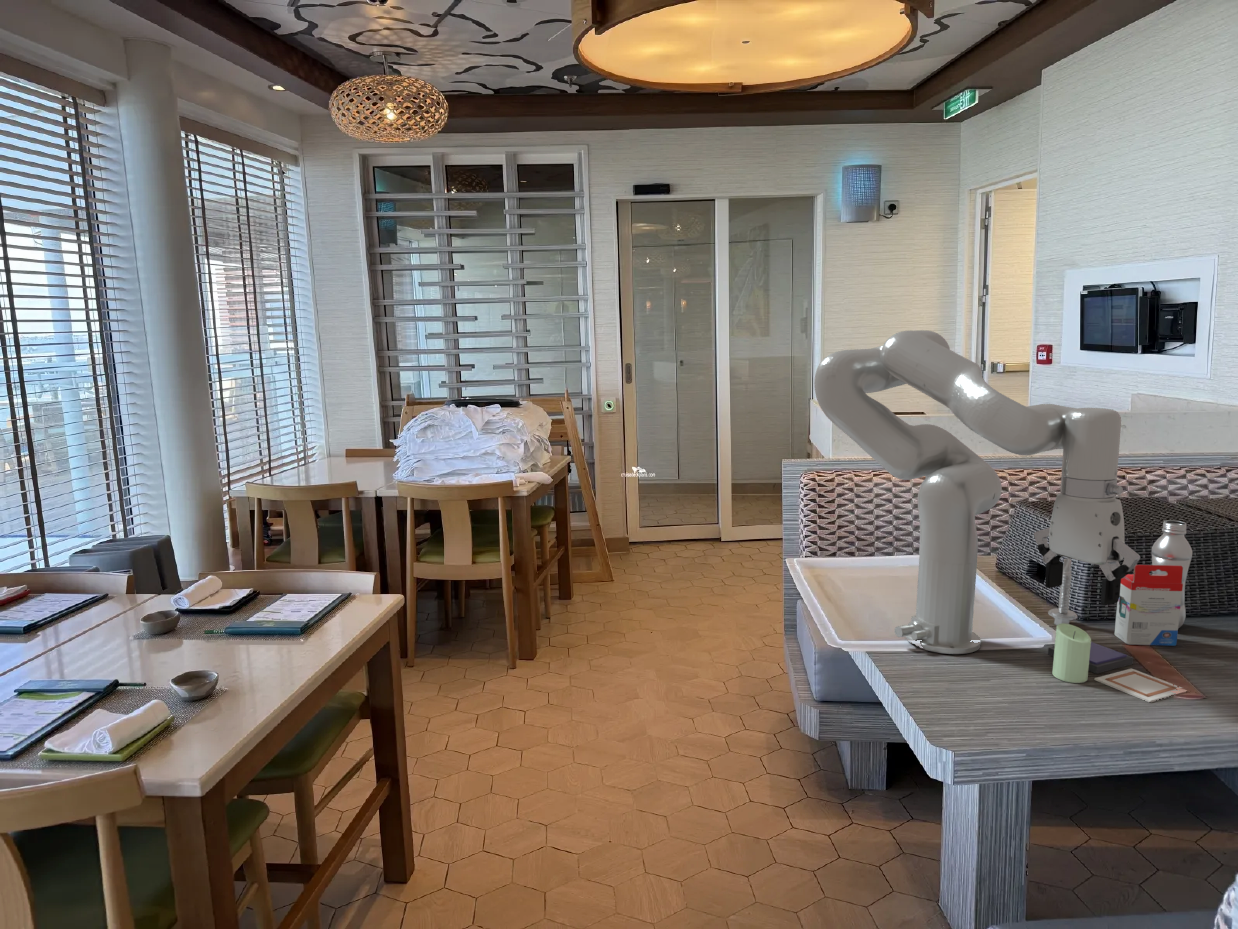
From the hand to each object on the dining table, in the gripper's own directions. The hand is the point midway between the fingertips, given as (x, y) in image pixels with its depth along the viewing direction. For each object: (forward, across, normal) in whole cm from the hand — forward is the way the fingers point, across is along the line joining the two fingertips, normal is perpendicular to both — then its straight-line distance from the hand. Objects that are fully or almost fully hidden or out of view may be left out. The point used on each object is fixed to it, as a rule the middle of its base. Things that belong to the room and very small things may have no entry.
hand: (1080, 594), depth 134 cm
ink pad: (+14, +4, -9) cm, 17 cm away
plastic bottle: (+14, +9, -36) cm, 39 cm away
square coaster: (+14, -6, -7) cm, 17 cm away
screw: (+14, +18, -20) cm, 30 cm away
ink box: (+14, +6, -26) cm, 30 cm away
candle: (+14, +1, 0) cm, 14 cm away
